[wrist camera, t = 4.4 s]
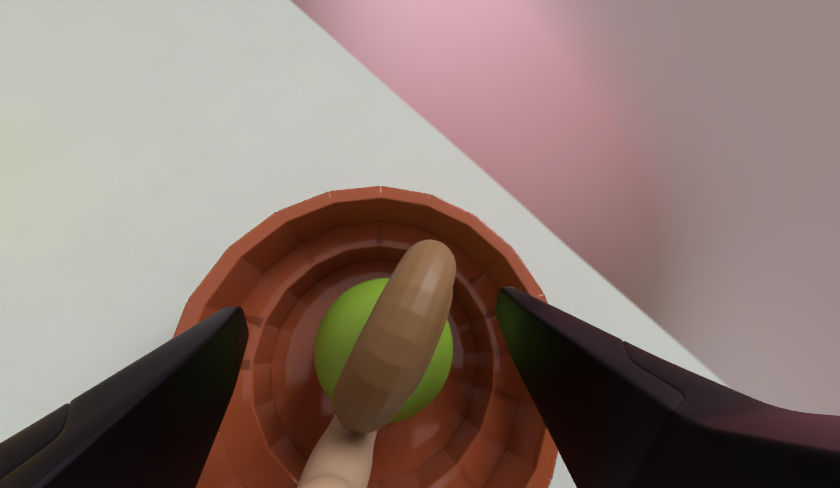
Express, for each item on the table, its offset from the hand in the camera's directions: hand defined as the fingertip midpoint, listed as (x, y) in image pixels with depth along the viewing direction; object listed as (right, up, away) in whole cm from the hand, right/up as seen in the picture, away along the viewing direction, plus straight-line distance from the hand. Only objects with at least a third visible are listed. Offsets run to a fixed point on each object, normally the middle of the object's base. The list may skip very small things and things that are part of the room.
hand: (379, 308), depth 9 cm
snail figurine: (-1, -4, +6) cm, 7 cm away
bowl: (-1, -4, +6) cm, 7 cm away
